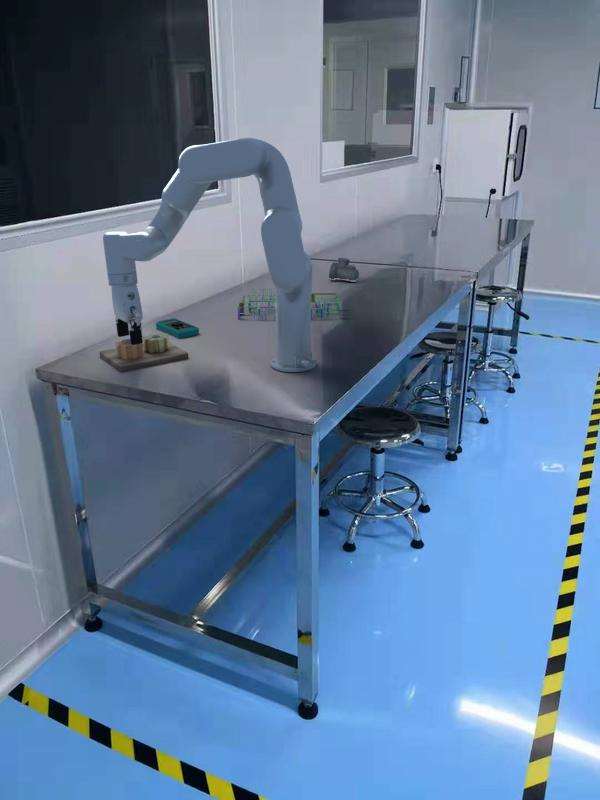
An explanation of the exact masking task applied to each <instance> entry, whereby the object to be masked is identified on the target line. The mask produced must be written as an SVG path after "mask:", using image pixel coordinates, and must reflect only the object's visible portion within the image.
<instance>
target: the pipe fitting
mask: <svg viewBox="0 0 600 800" xmlns="http://www.w3.org/2000/svg"><path fill="white" fill-rule="evenodd" d="M350 261H351V259H349V258H345V257H344V258H343V257H338V258H337V262H336V261H334V262H332V264H330V268H329V272H328V279H329V278H331V279H334V278H340V279H349V280H356V279H357V278H358V279H359V276H360V271H359V270H358V269H357V268H356V267H357V266H355V265H354V264H350Z"/></svg>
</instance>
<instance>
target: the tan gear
mask: <svg viewBox="0 0 600 800" xmlns="http://www.w3.org/2000/svg"><path fill="white" fill-rule="evenodd" d="M126 339H127V338H126ZM126 339H122V340H121V341H117V342H115V349H116V352H117V357H118V358H121V357H122V358H123V359H128V358H133V359H134V358H137V357H138V356H143V346H142V344H143V343H141V344H136V345H131V344H126Z"/></svg>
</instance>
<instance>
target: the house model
mask: <svg viewBox="0 0 600 800" xmlns="http://www.w3.org/2000/svg"><path fill="white" fill-rule="evenodd" d="M264 290H265V294H264V296H262V295H259V296H256V294H255V293H256V292H253V299H254V298H255V300H252V295H249V297H248V298H249V299H248V302H245V301H246V300H245V296H243V298H242V301H241V302H238V306H237V319H239V320H240V317H239V315H240V313H244V315H242V316H243V317H242V316H241V315H240V316H241V319H245V318H246V317H245V316H246V313H247V317H248V318H251V315H249V313H250V314H251V311H253V310H254V309H255V308H256V309H255V311H256V313H255V312H253V320H254V319H255V315H256V319H257V316H258V317H259V316H260V317H261V320H262V321H263V320H264V317H265V316H266V317H265V321H267V320H268V319H267V316H270V313H273V310H270V309H274V310H275V309H276V306H275V305H274V306H271V304H275V300H272V298H275V293H274V292H272V295H271V288H268V295H267V294H266V292H267V291H266V290H267V288H263V289H262V291H261V293H264ZM251 291H254V288H251ZM318 295H321V296H322V295H325V296H326V295H329V296H331V295H333V296H336V297H325V298H323V297H321V298H319V297H316V296H318ZM258 297H259V298H261V297H262V298H261V299H259V298H258ZM257 298H258V300H257ZM263 298H264V300H263ZM269 298H270V300H269ZM329 299H330V300H332V301H328V300H329ZM321 300H324V301H321ZM325 300H327V301H325ZM334 300H336V302H335V301H334ZM252 303H255V305H258V306H257V307H256V306H252ZM311 303H314V304H315V305H314V306H313V305H311V319H312V320H313V310H315V309H316V311H315V314H316V313H317V314H316V316H317V315H318V316H320V314H321V316H320V320H321V319H322V320H323V316H322V314H324V315H329V316H330V317H332V316H333V318H336V316H335V315H334V314H336V315H338V314H339V316H338V319H339V318H340V319H341V305H340V302H339V299H338V296H337V293H334V292H332V293H330V292H329V293H328V292H327V293H324V292H323V293H320V292H319V293H313V292H311ZM246 304H247V305H248V306H246ZM244 305H245V307H244ZM262 305H263V307H262ZM250 306H251V307H250ZM269 306H270V307H269ZM335 306H336V307H335ZM250 308H251V309H250ZM245 309H246V310H245ZM257 309H258V313H257ZM318 309H319V310H318ZM333 309H334V310H333ZM324 310H326V312H324ZM337 310H338V313H337V312H336V311H337ZM267 312H268V314H267ZM327 312H328V313H327ZM262 313H263V315H262ZM331 315H332V316H331ZM325 318H326V319H328V316H325ZM256 319H255V320H256ZM245 320H246V319H245ZM274 321H276V316H275V315H274Z"/></svg>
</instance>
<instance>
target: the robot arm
mask: <svg viewBox="0 0 600 800" xmlns="http://www.w3.org/2000/svg"><path fill="white" fill-rule="evenodd" d="M177 164H178V166H177V167H178V168H177V170H176V171H175V173H174V174H173V175H172V177H171V178H170V180H169V182H168V183H167V184H166V185H165V186H164V188H163V190H162V193H161V203H160V206H159V209H158V211H157V212H156V214H155V215H154V217H153V218H152V220H151V222H149V224H148V225H147V227H146V228H145V229H142V230H140V231H137V232H133V233H131V232H129V231H127V230H111V231H107V232H105V233H104V234H103V235H102V242H103V250H104V257H105V265H106V271H107V280H108V286H110V287H111V299H112V301H111V302H112V308H113V314H114V316H115V325H116V331H117V332H116V333H117V337H119V338H121V337H127V336H129V339H130V341H131V345H136V344H141V343H142V344H143V332H142V329H143V328H142V325H143V324H142V321H143V319H144V315H143V309H142V302H141V296H140V292H139V288H138V285H137V284H138V275H137V274H138V272H137V267H136V265H137V264H136V262H150V261H152V260H153V259H156V258H157V257H158V256H160V255H162V254H163V253H164V252H165V251H166V250H167V249H168V248H169V246H170V245H171V244H172V242H173V241H174V240H175V238H176V236H177V235H178V233H180V231H181V229H182V228H183V226H184V224H185V223H186V221H187V220H188V218H189V216H190V215H191V213H192V211H193V209H194V208H195V207H196V206H197V204H198V203H199V201H200V200H201V198H202V197H203V195H205V193H206V191H207V190H208V188H209V187H210V186H211V184H212V183H214V182H215V183H216V182H220V181H227V180H232V179H239V178H240V179H241V178H246V177H249V176H254V177H255V178H256V181H257V182H258V188H259V194H260V198H261V202H262V206H263V213H264V217H263V219H262V221H261V226H260V235H261V242H262V245H263V251H264V255H265V259H266V263H267V264H266V265H267V268H268V273H269V276H270V279H271V282H272V284H273V285H274V287H275V293H274V295H275V296H274V301H275V303H274V307H275V306H276V309H275V308H274V317H275V316H276V320H275V357H273V358H272V359H271V360H270V367H271V368H273V369H274V370H276V371H279V372H280V371H281V372H287V373H301V372H307V371H310V370H313V369H315V368H316V366H317V362H318V361H317V359H315V358H314V357H313V352H312V350H311V349H312V346H311V345H312V327H311V326H312V320H311V306H312V305H311V293H312V288H313V287H312V286H313V285H312V284H313V263H312V260H311V257H310V255H308V253H307V252H306V251H305V249H304V245H303V238H302V232H303V221H302V217H301V214H300V211H299V205H298V202H297V201H298V200H297V196H296V192H295V188H294V184H293V183H294V182H293V179H292V173H291V170H290V167H289V165H288V162H287V160H286V158H285V157H284V155H283V154H282V152H281V151H280V150H279V149H278V148H277V147H275V146H274V145H273V144H271V143H268V142H267V141H264V140H261V139H259V138H253V137H243V138H236V139H230V140H223V141H218V142H212V143H207V144H195V145H191V146H188V147H186V148H185V149H184V150H183V151H182V152H181V154H180V155H179V159H178V163H177Z"/></svg>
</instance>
